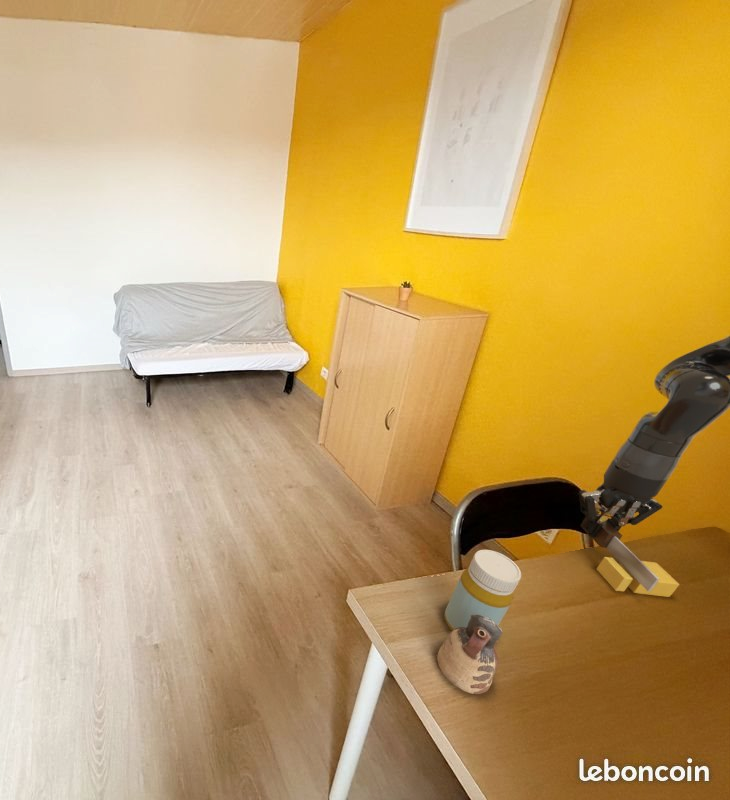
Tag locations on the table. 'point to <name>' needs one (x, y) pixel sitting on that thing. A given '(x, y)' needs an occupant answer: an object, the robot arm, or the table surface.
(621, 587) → the butter slice
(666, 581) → the butter block
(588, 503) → the robot arm
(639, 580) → the knife
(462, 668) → the figurine
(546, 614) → the table surface
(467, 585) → the bottle
